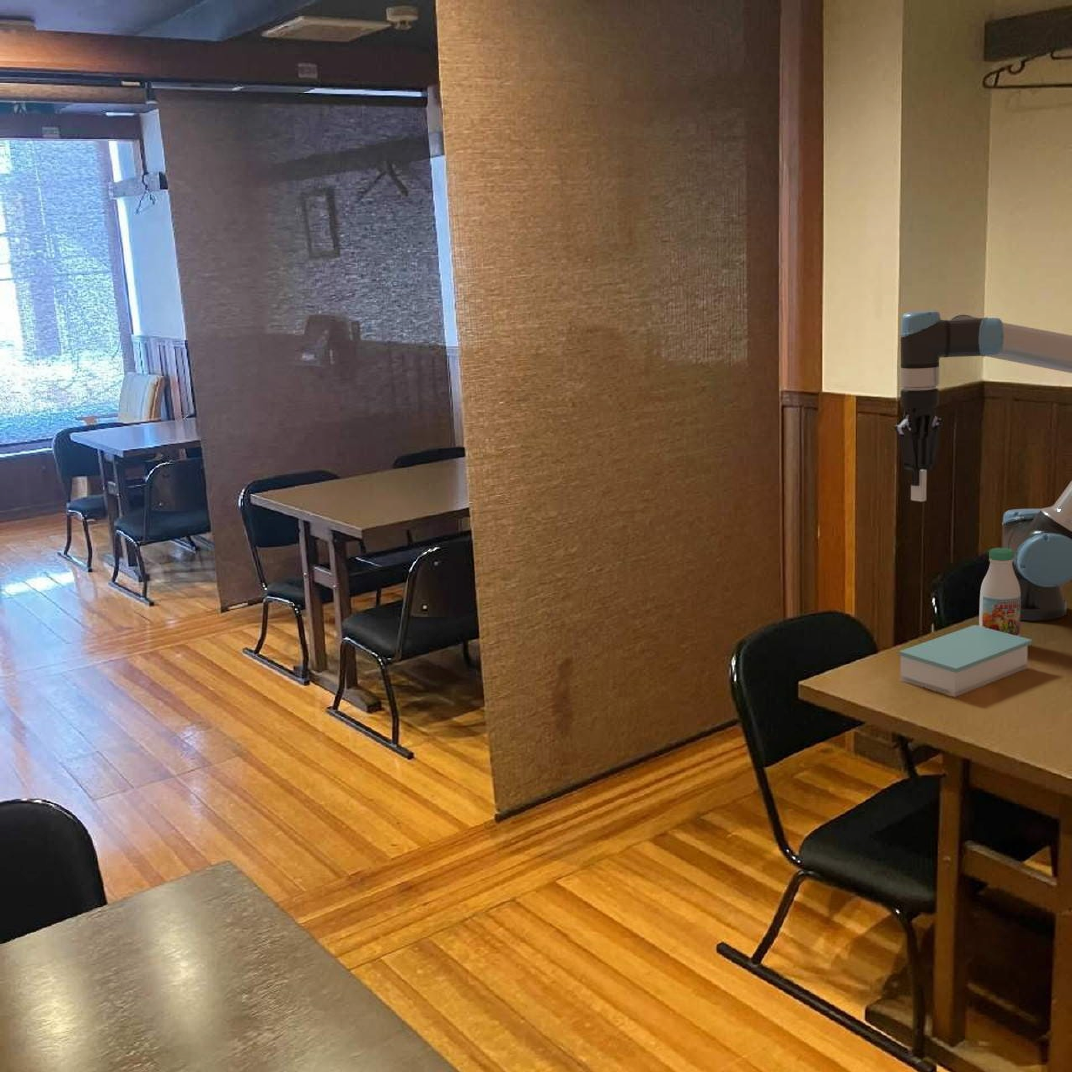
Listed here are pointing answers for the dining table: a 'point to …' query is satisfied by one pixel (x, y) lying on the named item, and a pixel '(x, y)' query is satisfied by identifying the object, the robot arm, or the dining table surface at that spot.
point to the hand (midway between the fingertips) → (918, 500)
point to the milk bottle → (1000, 594)
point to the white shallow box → (962, 673)
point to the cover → (965, 648)
